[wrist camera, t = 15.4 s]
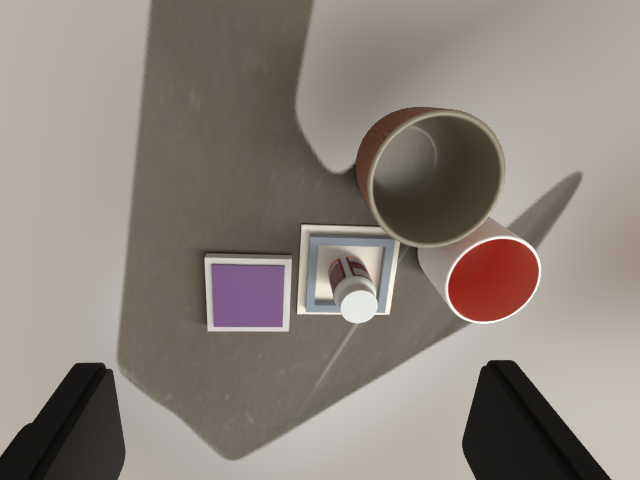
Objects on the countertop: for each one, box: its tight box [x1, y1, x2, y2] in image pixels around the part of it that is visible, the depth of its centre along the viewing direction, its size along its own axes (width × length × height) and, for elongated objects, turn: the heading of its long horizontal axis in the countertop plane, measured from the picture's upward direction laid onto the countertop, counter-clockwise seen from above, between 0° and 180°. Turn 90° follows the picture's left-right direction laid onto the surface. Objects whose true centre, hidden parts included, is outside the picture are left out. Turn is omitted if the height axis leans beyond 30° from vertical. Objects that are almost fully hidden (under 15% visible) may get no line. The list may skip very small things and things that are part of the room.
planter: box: [356, 107, 505, 248], centre depth 40 cm, size 12×12×11 cm
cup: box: [418, 217, 541, 323], centre depth 45 cm, size 10×10×10 cm
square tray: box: [297, 224, 400, 315], centre depth 49 cm, size 12×12×2 cm
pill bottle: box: [328, 255, 378, 323], centre depth 46 cm, size 5×5×8 cm
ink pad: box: [205, 253, 292, 331], centre depth 49 cm, size 10×10×2 cm
